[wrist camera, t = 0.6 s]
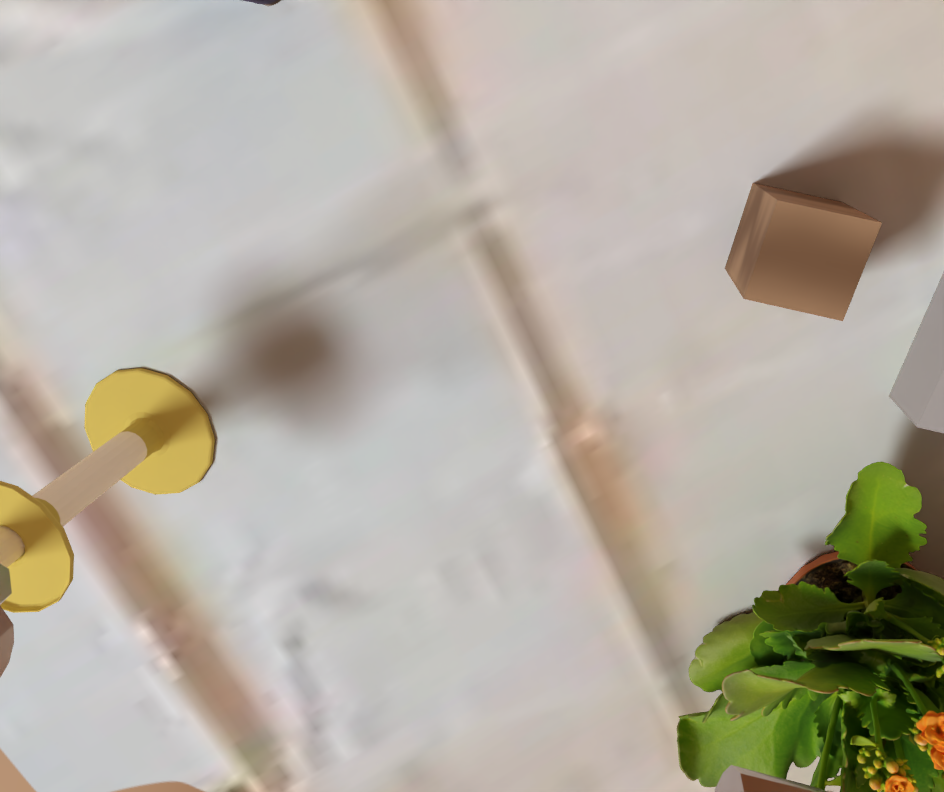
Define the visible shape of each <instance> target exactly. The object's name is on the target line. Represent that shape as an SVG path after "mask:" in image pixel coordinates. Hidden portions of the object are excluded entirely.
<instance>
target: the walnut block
mask: <svg viewBox="0 0 944 792" xmlns="http://www.w3.org/2000/svg"><path fill="white" fill-rule="evenodd" d="M881 224H882V222H880V221H878V220H876V219H874V218H872V217H870V216H868V215H866V214H864V213H862V212H860V211H858V210H856V209H855V208H853V207H851V206H849V205H847V204H845V203H843V202H840V201H835V200H830V199H826V198H821V197H816V196H812V195H807V194H802V193H798V192H793V191H788V190H784V189H779V188H774V187H770V186H765V185H760V184H756V183H753V184H752V187H751V190H750V193H749V196H748V199H747V202H746V205H745V208H744V211H743V214H742V218H741V221H740V224H739V227H738V230H737V233H736V236H735V239H734V242H733V245H732V248H731V251H730V254H729V257H728V260H727V263H726V267H725V269H726V271H727V273H728V274H729V276H730V277H731V279H732V281H733V282H734V284H735V285H736V287H737V289H738V290H739V292H740V293H741V295H742V297H743V298H744V299H748V300H752V301H756V302H761V303H765V304H770V305H774V306H779V307H783V308H787V309H792V310H796V311H801V312H805V313H810V314H814V315H818V316H823V317H827V318H832V319H836V320H841V321H843V319H844V317H845V314H846V312H847V309H848V307H849V304H850V302H851V299H852V297H853V294H854V292H855V289H856V287H857V284H858V282H859V279H860V277H861V274H862V272H863V269H864V267H865V264H866V262H867V259H868V257H869V254H870V252H871V249H872V247H873V244H874V242H875V239H876V237H877V234H878V232H879V229H880V227H881Z"/></svg>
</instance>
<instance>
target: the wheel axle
mask: <svg viewBox="0 0 944 792" xmlns="http://www.w3.org/2000/svg"><path fill="white" fill-rule="evenodd" d="M85 430H86V433H87V436H88V438H89V441H90V444H91V447H92V450H93V452H92V453H91V454H90V455H88V456H87V457H86V458H84V459H83V460H81V461H80V462H79V463H77V464H76V465H74V466H73V467H72V468H70V469H69V470H68V471H66V472H65V473H63V474H62V475H61V476H59V477H58V478H56V479H55V480H54V481H52V482H51V483H49V484H48V485H47V486H45V487H44V488H43V489H41V490H40V491H38V492H37V493H36V494H34V495H33V496H31V495H30V494H28V493H27V492H25V491H24V490H22V489H21V488H19V487H18V486H15V485H12V484H9V483H5V482H2V481H0V564H1V565H3V566H5V567H6V568H8V569H9V572H10V581H11V590H12V594H11V595H10V596H9V597H8V598H7V599H6V600H5V601H4V602H3V603H2V604H1V605H0V606H1V607H2V609H4V610H7V611H10V612H13V613H14V612H39V611H41V610H43V609H45V608H47V607H48V606H50V605H52V604H54V603H56V602H58V601H59V600H60V599H61V598H62V596H63V595H64V593H65V591H66V590H67V588H68V587H69V585H70V583H71V582H72V580H73V563H74V553H73V551H72V548H71V546H70V543H69V540H68V538H67V535H66V533H65V530H64V528H63V526H64V525H65V524H67V523H68V522H69V521H70V520H71V519H73V518H74V517H75V516H76V515H78V514H79V513H80V512H81V511H82V510H84V509H85V508H86V507H87V506H89V505H90V504H91V503H92V502H93V501H95V500H96V499H97V498H98V497H100V496H101V495H102V494H103V493H104V492H106V491H107V490H108V489H109V488H111V487H112V486H113V485H114V484H115V483H117V482H118V481H119V480H122V481H123V482H125V483H126V484H128V485H129V486H130V487H132V488H136V489H139V490H143V491H146V492H149V493H153V494H168V493H180V492H182V491H184V490H186V489H188V488H189V487H191V486H193V485H195V484H197V483H198V482H200V481H201V479H202V478H203V476H204V475H205V473H206V472H207V470H208V469H209V467H210V466H211V464H212V462H213V453H214V444H215V438H214V434H213V431H212V428H211V424H210V421H209V417H208V414H207V413H206V412H205V410H204V409H203V408H202V406H201V405H200V403H199V402H198V401H197V399H196V398H195V397H194V395H193V394H192V393H191V392H190V391H189V390H188V389H186V388H185V387H183V386H182V385H181V384H179V383H178V382H176V381H175V380H173V379H172V378H171V377H169V376H168V375H165V374H161V373H158V372H154V371H151V370H147V369H144V368H135V369H126V370H117V371H115V372H114V373H112V374H111V375H109V376H108V377H106V378H104V379H103V380H101V381H100V382H98V383H97V384H96V385H95V387H94V389H93V391H92V393H91V395H90V396H89V398H88V400H87V402H86V404H85Z"/></svg>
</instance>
